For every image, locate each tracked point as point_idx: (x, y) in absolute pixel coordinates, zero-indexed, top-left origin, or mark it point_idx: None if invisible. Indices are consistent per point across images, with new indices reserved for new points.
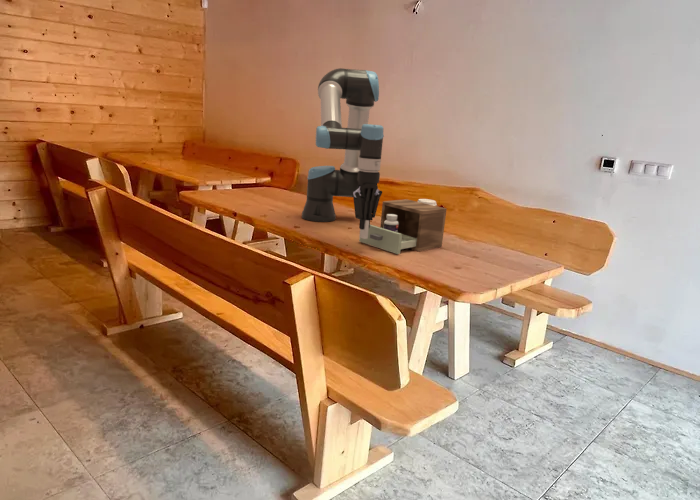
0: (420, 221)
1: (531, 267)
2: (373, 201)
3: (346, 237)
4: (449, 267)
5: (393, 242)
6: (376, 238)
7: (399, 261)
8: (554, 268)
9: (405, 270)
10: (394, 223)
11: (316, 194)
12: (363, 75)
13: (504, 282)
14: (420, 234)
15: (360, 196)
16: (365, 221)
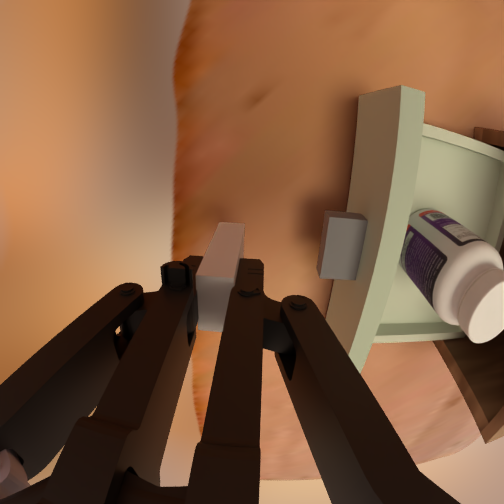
0: (472, 403)
1: (436, 450)
2: (329, 445)
3: (370, 5)
4: None
5: (335, 334)
6: (319, 262)
7: (262, 365)
8: (448, 455)
9: (207, 404)
10: (448, 323)
11: None
12: None
13: (317, 477)
14: (449, 369)
15: (70, 460)
16: (199, 319)
